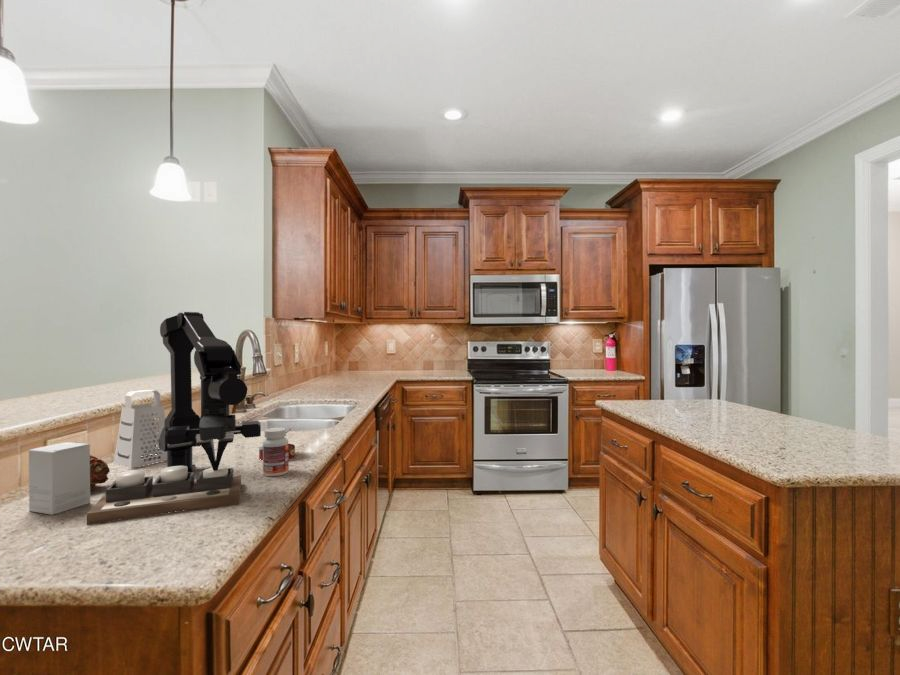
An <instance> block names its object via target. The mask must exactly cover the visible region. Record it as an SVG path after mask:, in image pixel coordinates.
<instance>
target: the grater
mask: <svg viewBox="0 0 900 675" xmlns="http://www.w3.org/2000/svg"><path fill="white" fill-rule="evenodd" d="M143 392H152V393H153V403H143V404H135V405H132V396H134V394H135V393H143ZM124 404H125V405H124V406H121V413H120V417H119V418H120V419H119V424H118V425H119V426H118V432H117V438H116V443H115V444H116V445H115V452H114V456H113V457H114V458H113V464H114V465H117V466H120V465H121V466H120V467H123V466H125V467H124V468H126V467H128V468H127V469H129V468H134V467H139V466H143V465H148V464H152V463H156V462H161V461H166V460H167V451H166V452H164V451H162V450H160V449H159V438H160V435H161V432H162V429H163V428H164V421H165V419H166V413H165V406H164V404H163V405H162V404H161V392H159V391H158V390H157V389H143V390H132V391H128V392H127V393H126V394H125V395H124ZM157 432H158V433H157ZM168 445H169V444H168ZM150 454H154V455H152V456H150ZM155 454H157V455H155ZM146 455H149V456H147V457H146ZM141 456H144V457H142V458H141ZM159 456H161V457H160V458H159ZM154 458H155V459H154ZM149 459H151V460H149ZM145 460H146V461H145ZM166 462H167V461H166ZM161 463H162V462H161ZM152 465H153V464H152ZM148 466H149V465H148ZM143 467H144V466H143ZM139 468H140V467H139ZM134 469H135V468H134Z"/></svg>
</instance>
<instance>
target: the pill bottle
mask: <svg viewBox="0 0 900 675" xmlns="http://www.w3.org/2000/svg"><path fill="white" fill-rule="evenodd" d="M286 432H287V428H285V427H271V428H266V429H264V438H265V439H264V440H263V441H262V442H263V443H262V446H263V461H262V473H263V475H264V476H266V477H279V476H284V475H285V474H288V472H289V459H288V444H289V439H287V437H286V436H287V433H286Z"/></svg>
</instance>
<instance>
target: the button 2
mask: <svg viewBox="0 0 900 675" xmlns="http://www.w3.org/2000/svg"><path fill="white" fill-rule="evenodd" d="M202 471H203V479H204V478H213V477H222V476H228V467H225V466H219V467H218V470H215V471H213V468H212V467H210V468H206V469H204V470H202Z"/></svg>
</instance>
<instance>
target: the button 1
mask: <svg viewBox="0 0 900 675" xmlns="http://www.w3.org/2000/svg"><path fill="white" fill-rule="evenodd" d="M145 477H146V476H145V470H144V469H129V470H126V471H122V472H119V473H116V474H115V480H116V488H122V487H131V486H140V485H143V484H144V483H145Z"/></svg>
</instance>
